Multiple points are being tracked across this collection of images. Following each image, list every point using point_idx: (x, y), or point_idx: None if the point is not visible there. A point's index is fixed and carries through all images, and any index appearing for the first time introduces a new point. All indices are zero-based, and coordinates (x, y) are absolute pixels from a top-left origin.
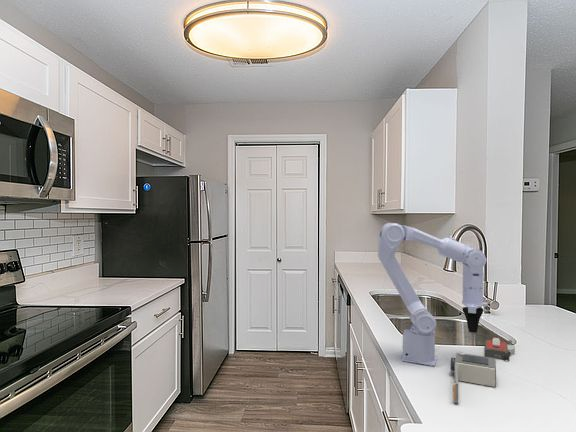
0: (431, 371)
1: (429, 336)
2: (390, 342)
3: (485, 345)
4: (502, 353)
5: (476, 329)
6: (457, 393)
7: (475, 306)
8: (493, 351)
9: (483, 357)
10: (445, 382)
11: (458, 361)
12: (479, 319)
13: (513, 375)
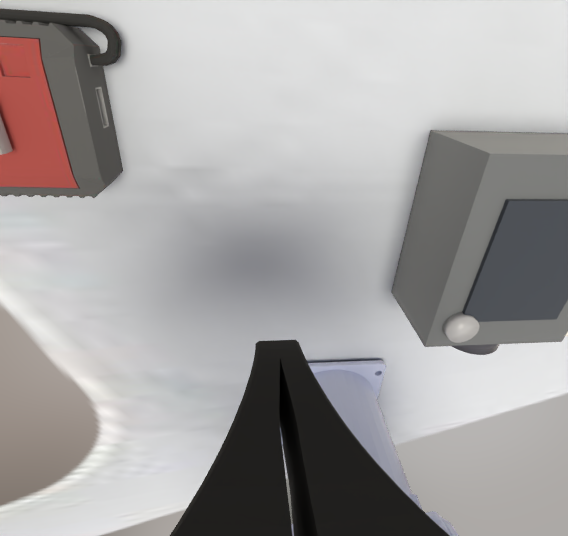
0: (433, 358)
1: (407, 490)
2: (181, 489)
3: None
4: (84, 71)
5: (307, 364)
6: None
7: None
8: (97, 140)
9: (501, 227)
10: None
11: (561, 328)
12: (367, 456)
13: (389, 17)
